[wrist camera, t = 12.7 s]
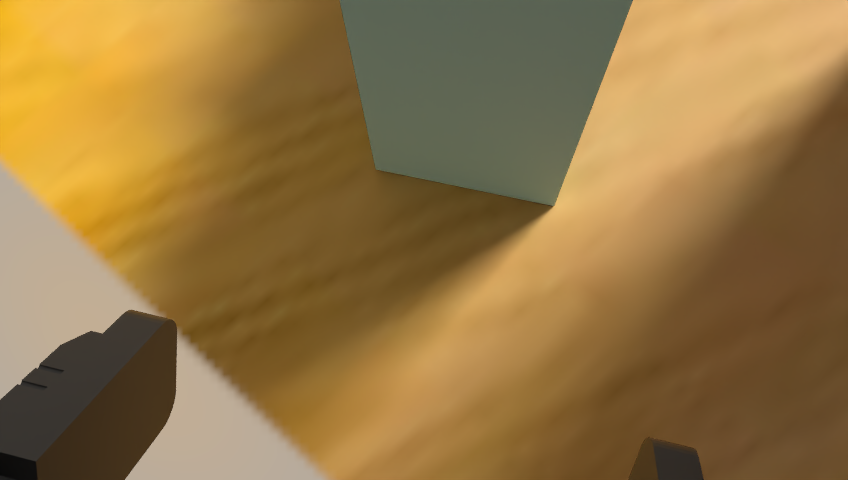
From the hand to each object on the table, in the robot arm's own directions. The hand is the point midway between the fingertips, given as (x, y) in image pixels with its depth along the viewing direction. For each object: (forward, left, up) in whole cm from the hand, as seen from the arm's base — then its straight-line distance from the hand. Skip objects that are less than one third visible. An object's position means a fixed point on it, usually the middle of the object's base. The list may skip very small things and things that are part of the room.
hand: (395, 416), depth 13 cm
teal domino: (-3, -7, -6) cm, 10 cm away
